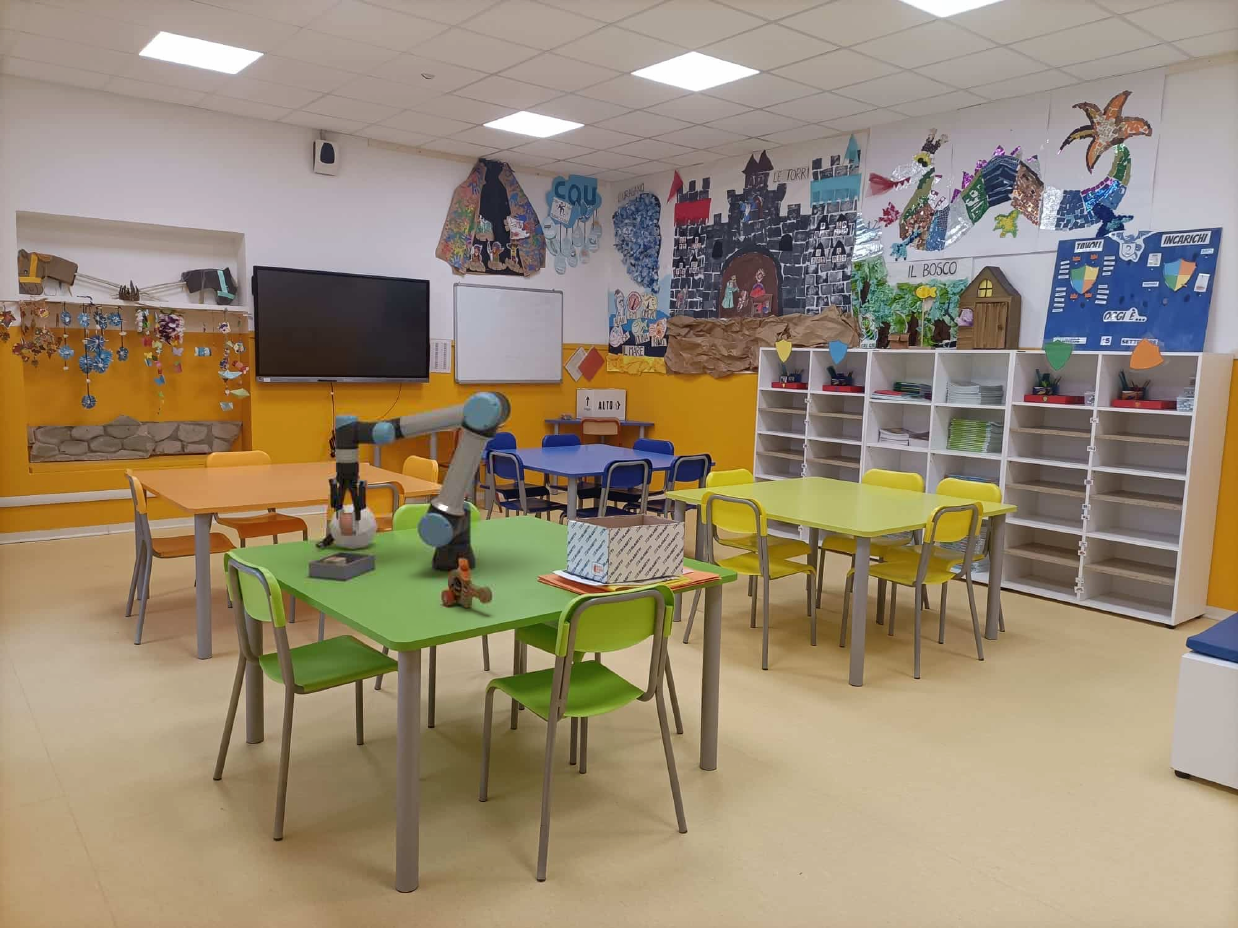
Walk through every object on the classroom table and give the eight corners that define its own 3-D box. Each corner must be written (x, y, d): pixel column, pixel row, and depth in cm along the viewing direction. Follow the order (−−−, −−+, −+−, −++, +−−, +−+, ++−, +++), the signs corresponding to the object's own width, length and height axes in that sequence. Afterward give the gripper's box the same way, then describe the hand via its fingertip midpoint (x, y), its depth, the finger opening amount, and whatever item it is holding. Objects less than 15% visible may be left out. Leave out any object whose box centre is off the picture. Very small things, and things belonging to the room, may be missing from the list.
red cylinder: (359, 533, 296) (358, 513, 295) (350, 536, 292) (350, 515, 291) (346, 532, 298) (346, 512, 297) (337, 535, 293) (337, 514, 292)
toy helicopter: (462, 598, 264) (462, 554, 262) (502, 613, 249) (502, 566, 247) (438, 603, 258) (438, 558, 257) (478, 619, 243) (477, 571, 242)
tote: (340, 565, 303) (340, 551, 302) (375, 569, 299) (374, 554, 298) (309, 577, 286) (308, 562, 285) (344, 581, 282) (344, 566, 281)
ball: (377, 536, 321) (347, 480, 322) (318, 569, 321) (288, 513, 323) (391, 534, 339) (362, 481, 340) (335, 565, 339) (306, 512, 340)
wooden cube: (346, 572, 290) (345, 557, 289) (337, 576, 285) (337, 561, 285) (333, 571, 291) (332, 556, 291) (324, 574, 287) (323, 560, 286)
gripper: (377, 461, 293) (378, 529, 295) (331, 458, 298) (332, 525, 301) (364, 463, 286) (365, 533, 288) (317, 461, 291) (319, 529, 293)
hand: (348, 529), depth 294 cm, fingers closed on red cylinder, 5 cm apart
